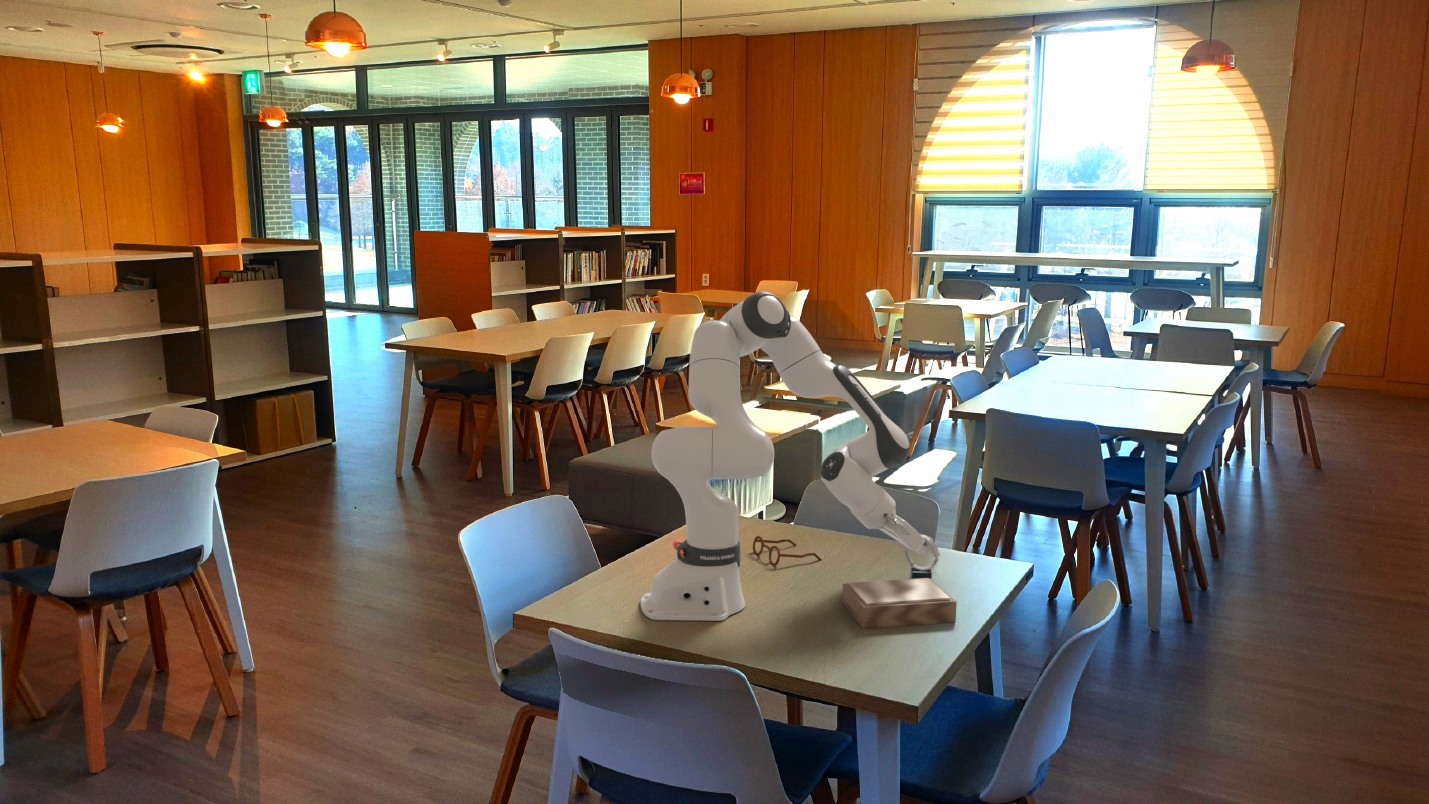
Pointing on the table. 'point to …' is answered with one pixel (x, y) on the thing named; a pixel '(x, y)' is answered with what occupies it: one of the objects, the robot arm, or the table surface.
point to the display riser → (898, 603)
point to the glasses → (777, 549)
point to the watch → (923, 570)
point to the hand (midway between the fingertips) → (912, 546)
